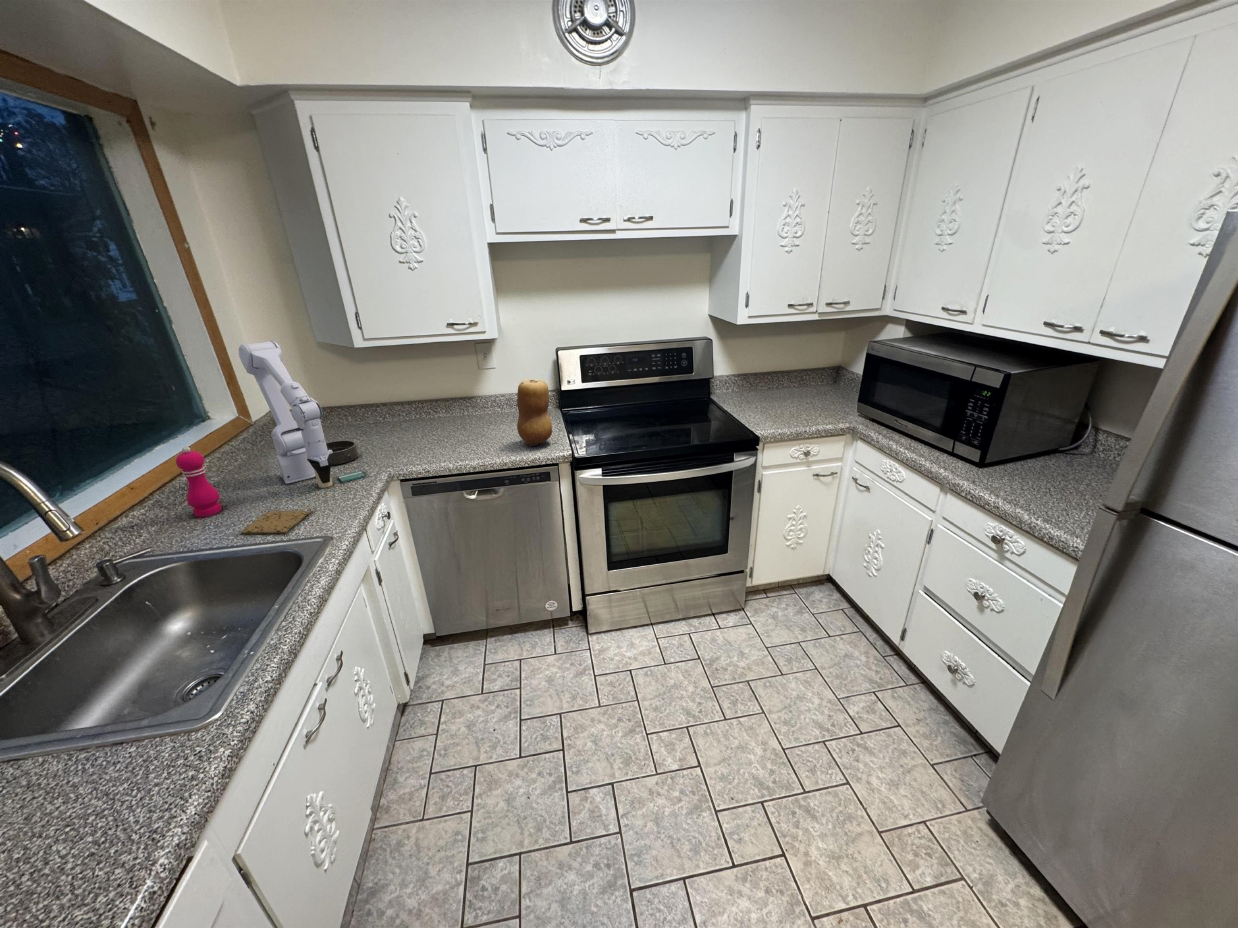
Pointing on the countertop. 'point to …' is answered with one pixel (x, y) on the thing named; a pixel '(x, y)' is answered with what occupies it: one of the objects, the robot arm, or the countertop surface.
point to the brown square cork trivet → (275, 522)
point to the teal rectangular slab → (351, 476)
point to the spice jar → (321, 482)
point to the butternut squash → (533, 412)
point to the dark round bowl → (342, 451)
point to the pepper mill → (198, 484)
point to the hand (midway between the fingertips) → (324, 480)
